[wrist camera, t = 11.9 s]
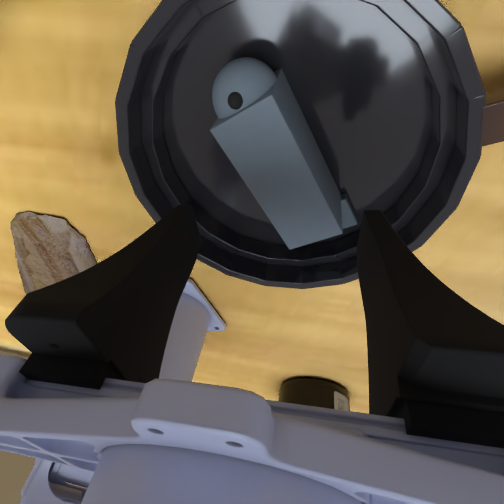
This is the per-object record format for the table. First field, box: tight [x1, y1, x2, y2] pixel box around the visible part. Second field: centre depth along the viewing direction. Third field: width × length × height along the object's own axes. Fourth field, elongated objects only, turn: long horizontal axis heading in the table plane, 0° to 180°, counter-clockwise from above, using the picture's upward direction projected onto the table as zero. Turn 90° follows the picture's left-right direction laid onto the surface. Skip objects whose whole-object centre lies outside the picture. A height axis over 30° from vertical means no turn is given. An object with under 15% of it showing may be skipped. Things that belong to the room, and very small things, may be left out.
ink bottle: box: [278, 378, 350, 411], centre depth 37 cm, size 10×9×12 cm
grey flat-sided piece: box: [210, 57, 357, 249], centre depth 17 cm, size 12×4×4 cm, turn 31°
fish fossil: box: [11, 211, 97, 295], centre depth 35 cm, size 26×10×1 cm, turn 174°
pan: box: [115, 0, 486, 289], centre depth 17 cm, size 17×17×4 cm
